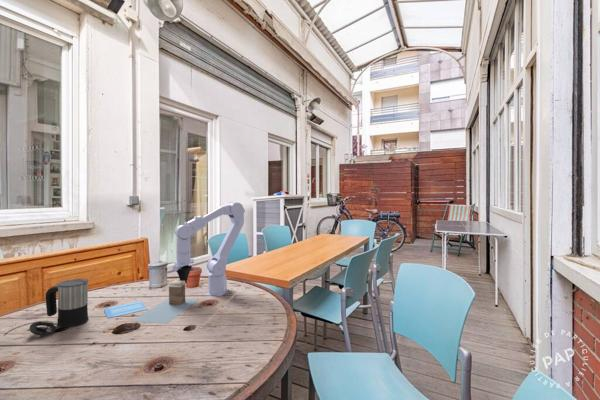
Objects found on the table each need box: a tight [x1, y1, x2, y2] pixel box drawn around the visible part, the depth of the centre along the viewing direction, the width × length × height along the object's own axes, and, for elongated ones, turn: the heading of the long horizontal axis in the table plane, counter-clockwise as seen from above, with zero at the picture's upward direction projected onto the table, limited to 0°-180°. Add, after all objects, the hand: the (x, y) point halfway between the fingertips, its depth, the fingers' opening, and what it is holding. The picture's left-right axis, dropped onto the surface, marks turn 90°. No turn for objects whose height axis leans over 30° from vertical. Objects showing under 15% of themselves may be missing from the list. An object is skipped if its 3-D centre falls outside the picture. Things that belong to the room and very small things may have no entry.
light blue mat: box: [131, 297, 199, 324], centre depth 119 cm, size 24×14×1 cm, turn 173°
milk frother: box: [28, 278, 90, 337], centre depth 104 cm, size 14×16×15 cm
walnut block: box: [168, 280, 186, 305], centre depth 126 cm, size 4×5×9 cm
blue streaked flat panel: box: [103, 300, 149, 319], centre depth 119 cm, size 14×12×1 cm
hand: (183, 283), depth 131 cm, fingers closed
